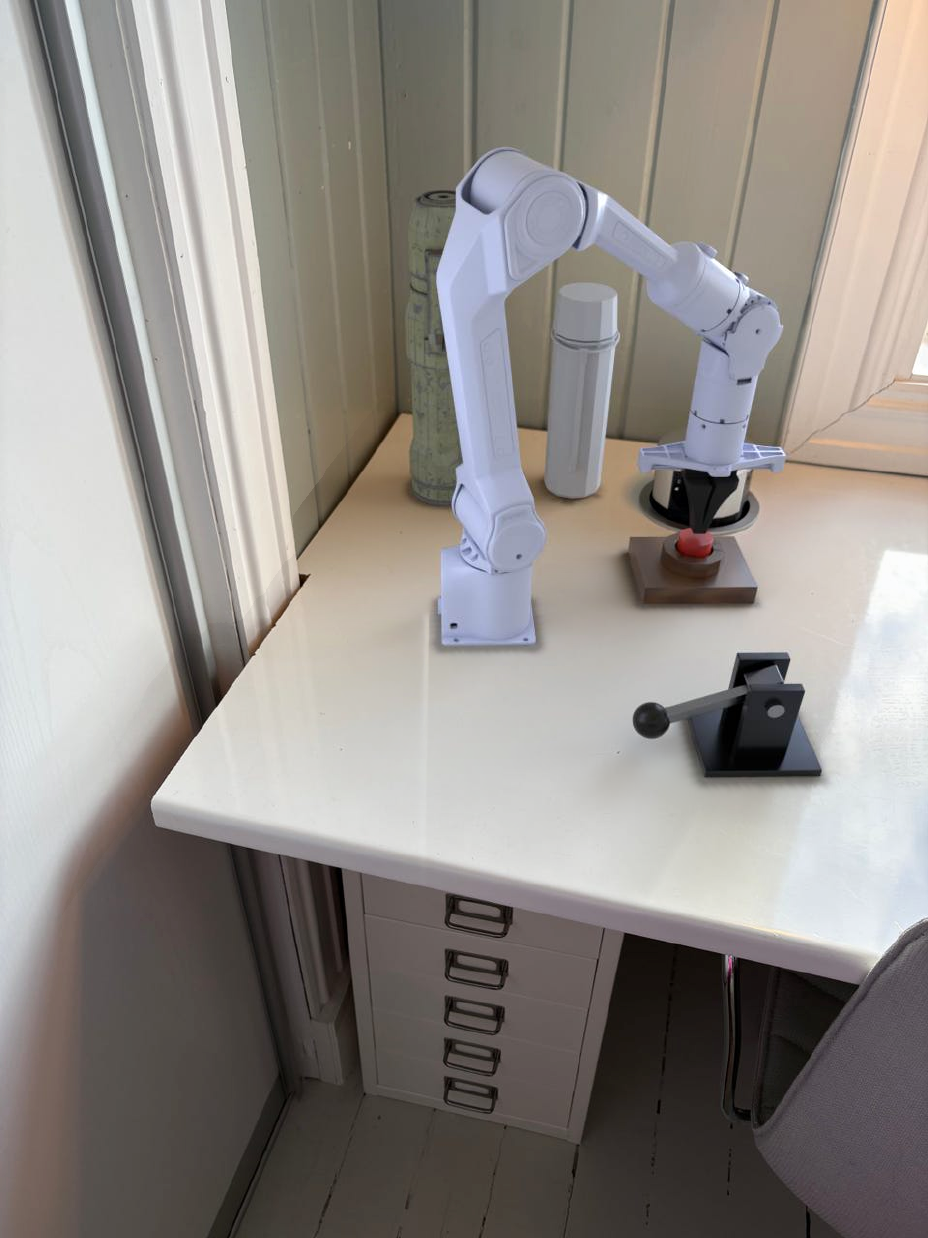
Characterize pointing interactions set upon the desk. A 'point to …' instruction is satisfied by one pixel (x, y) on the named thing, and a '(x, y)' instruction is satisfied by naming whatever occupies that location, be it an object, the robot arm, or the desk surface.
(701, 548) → the button
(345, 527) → the desk surface
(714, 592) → the control block
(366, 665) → the desk surface
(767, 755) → the bracket
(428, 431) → the thermos
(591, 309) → the water bottle
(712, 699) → the lever
